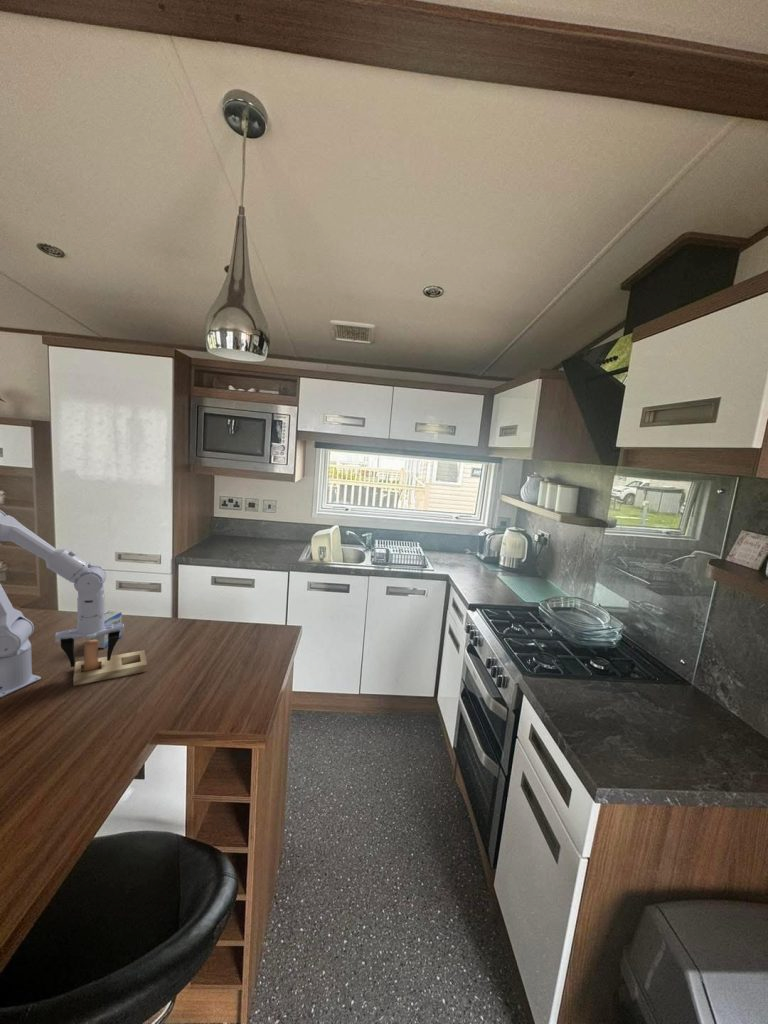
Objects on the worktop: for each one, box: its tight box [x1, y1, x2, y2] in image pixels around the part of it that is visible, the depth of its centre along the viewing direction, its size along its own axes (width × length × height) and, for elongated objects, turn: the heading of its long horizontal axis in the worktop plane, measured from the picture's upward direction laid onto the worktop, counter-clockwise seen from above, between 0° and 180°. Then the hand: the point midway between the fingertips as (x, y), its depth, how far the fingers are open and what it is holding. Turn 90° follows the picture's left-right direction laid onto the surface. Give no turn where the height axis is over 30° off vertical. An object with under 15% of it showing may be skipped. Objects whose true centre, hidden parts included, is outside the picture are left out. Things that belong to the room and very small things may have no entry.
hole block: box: [73, 649, 148, 686], centre depth 108 cm, size 16×9×2 cm, turn 125°
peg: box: [83, 639, 99, 672], centre depth 105 cm, size 3×3×9 cm
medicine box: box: [89, 610, 123, 649], centre depth 122 cm, size 8×4×9 cm, turn 179°
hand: (91, 661), depth 105 cm, fingers open, 7 cm apart
